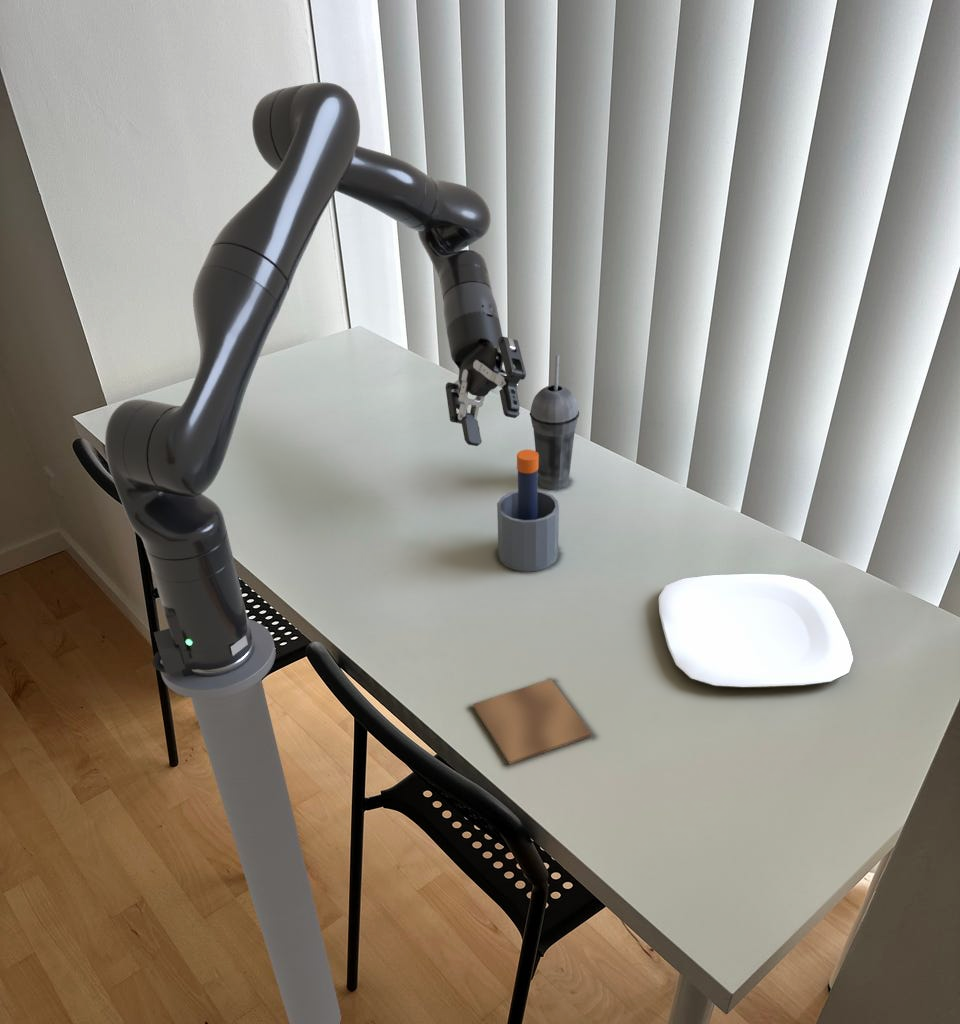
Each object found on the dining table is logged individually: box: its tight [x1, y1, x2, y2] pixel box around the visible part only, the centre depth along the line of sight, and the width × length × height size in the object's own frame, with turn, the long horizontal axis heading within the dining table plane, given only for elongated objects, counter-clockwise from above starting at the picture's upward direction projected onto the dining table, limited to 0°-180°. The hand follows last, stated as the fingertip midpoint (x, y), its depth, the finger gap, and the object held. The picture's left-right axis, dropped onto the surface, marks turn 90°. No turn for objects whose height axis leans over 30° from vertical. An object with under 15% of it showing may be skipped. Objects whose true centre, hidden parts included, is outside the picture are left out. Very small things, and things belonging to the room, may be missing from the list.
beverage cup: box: [529, 354, 580, 490], centre depth 145 cm, size 7×7×20 cm
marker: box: [516, 449, 539, 520], centre depth 131 cm, size 3×3×15 cm
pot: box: [496, 489, 560, 573], centre depth 134 cm, size 8×8×8 cm
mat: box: [472, 678, 592, 765], centre depth 111 cm, size 10×10×1 cm
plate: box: [658, 573, 854, 689], centre depth 120 cm, size 22×22×2 cm
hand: (492, 430), depth 133 cm, fingers open, 8 cm apart
